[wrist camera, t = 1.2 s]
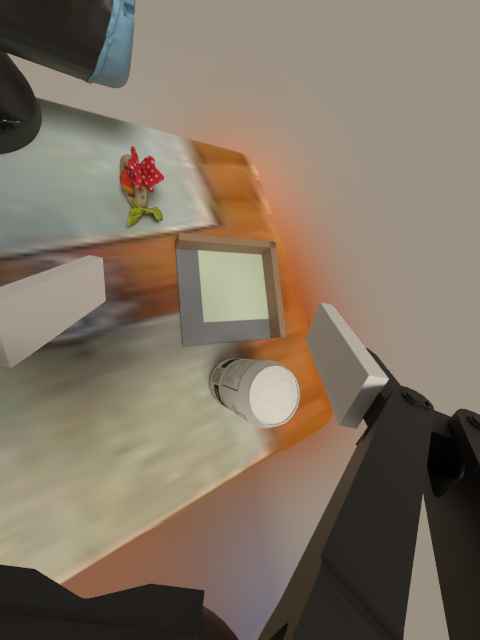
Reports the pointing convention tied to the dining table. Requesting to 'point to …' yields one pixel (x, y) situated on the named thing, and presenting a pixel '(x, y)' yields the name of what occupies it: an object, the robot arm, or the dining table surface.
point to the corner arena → (228, 289)
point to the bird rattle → (139, 184)
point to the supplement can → (256, 390)
